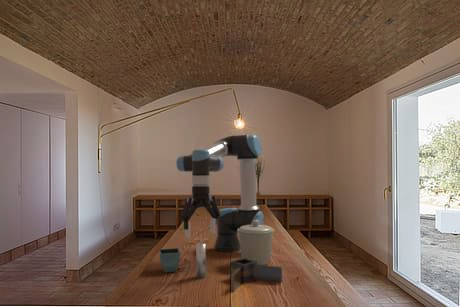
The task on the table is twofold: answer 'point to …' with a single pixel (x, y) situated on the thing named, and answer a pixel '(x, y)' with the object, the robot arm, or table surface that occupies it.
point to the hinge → (252, 272)
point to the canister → (256, 242)
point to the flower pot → (169, 259)
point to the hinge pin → (200, 260)
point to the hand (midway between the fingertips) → (200, 235)
